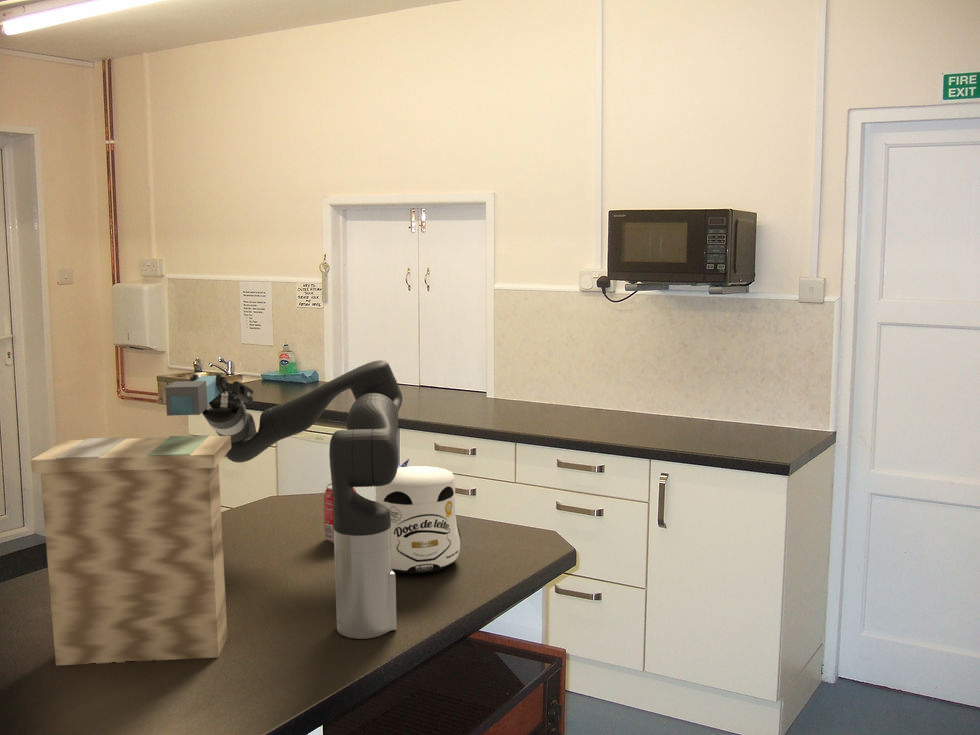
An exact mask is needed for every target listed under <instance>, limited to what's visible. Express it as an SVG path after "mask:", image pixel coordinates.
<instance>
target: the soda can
mask: <svg viewBox="0 0 980 735" xmlns="http://www.w3.org/2000/svg"><path fill="white" fill-rule="evenodd" d="M325 487H326V489H325V490H324V492H323V516H324V517H323V520H324V521H323V522H324V524H323V525H324V527H323V528H324V536H325V539H326V540H327V541H330V543H332V544H334V518H333V492H332V482H331V483H327V485H326V486H325ZM352 488H353V490H354V491H355V492H356V493H357V491H356V489H355V487H352Z"/></svg>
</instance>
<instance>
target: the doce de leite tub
mask: <svg viewBox="0 0 980 735" xmlns="http://www.w3.org/2000/svg"><path fill="white" fill-rule="evenodd" d="M409 466H410V467H399V468H398V469H397V473H396V476H395V478H394V479H393V481H392V482H391V483H389V484H387V485H384V486H375V502H378V503H381V504H383V505H385V506H386V507H387V508H388V509H389V511H390V515H391V555H392V570H393V572H394V573H402V574H425V573H431V572H437V571H441V570H443V569H445V568H448V566H451V565H452V564H453V563H455V562H456V560H457V559H458V557H459V554H460V550H461V542H462V541H461V533H460V529H459V526H458V525H459V524H458V522H457V517H456V516H457V515H456V498H457V497H456V480H455V476H454V474H453V472H452V471H451V470H448V469H447V468H440V467H437V466H436V467H435V466H425V465H424V466H422V465H421V466H419V465H416V466H415V465H409Z"/></svg>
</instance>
